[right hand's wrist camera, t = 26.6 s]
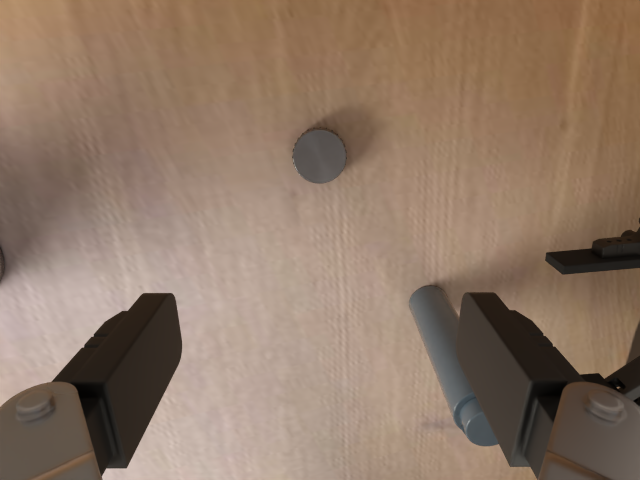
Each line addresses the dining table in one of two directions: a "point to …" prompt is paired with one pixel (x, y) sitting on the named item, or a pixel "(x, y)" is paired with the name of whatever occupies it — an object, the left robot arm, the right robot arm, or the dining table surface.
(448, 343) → the grey cylinder
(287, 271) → the dining table surface
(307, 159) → the lid
